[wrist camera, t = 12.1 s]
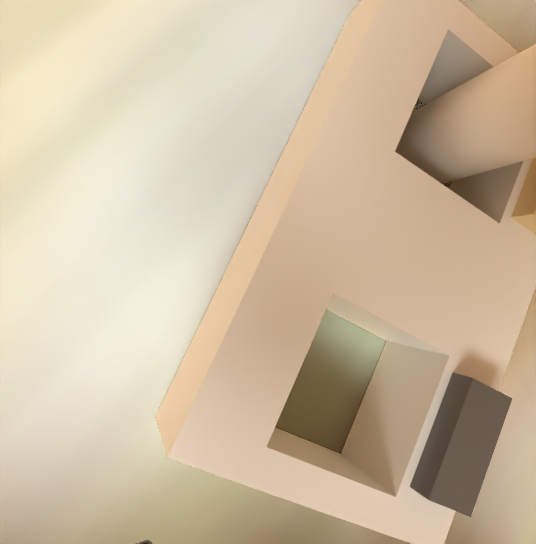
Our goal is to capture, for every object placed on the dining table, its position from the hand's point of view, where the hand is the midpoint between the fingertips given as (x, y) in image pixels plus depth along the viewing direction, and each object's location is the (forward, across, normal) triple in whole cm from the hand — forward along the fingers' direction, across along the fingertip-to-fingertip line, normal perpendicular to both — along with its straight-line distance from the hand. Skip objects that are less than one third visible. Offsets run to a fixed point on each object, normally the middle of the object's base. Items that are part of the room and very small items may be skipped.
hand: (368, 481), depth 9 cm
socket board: (+11, -4, +1) cm, 12 cm away
